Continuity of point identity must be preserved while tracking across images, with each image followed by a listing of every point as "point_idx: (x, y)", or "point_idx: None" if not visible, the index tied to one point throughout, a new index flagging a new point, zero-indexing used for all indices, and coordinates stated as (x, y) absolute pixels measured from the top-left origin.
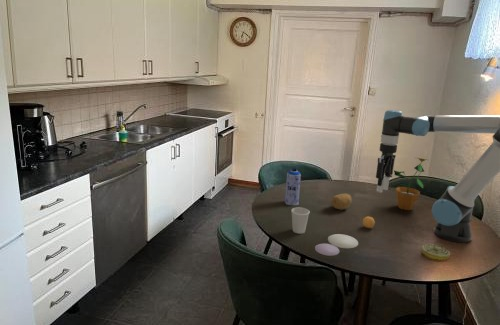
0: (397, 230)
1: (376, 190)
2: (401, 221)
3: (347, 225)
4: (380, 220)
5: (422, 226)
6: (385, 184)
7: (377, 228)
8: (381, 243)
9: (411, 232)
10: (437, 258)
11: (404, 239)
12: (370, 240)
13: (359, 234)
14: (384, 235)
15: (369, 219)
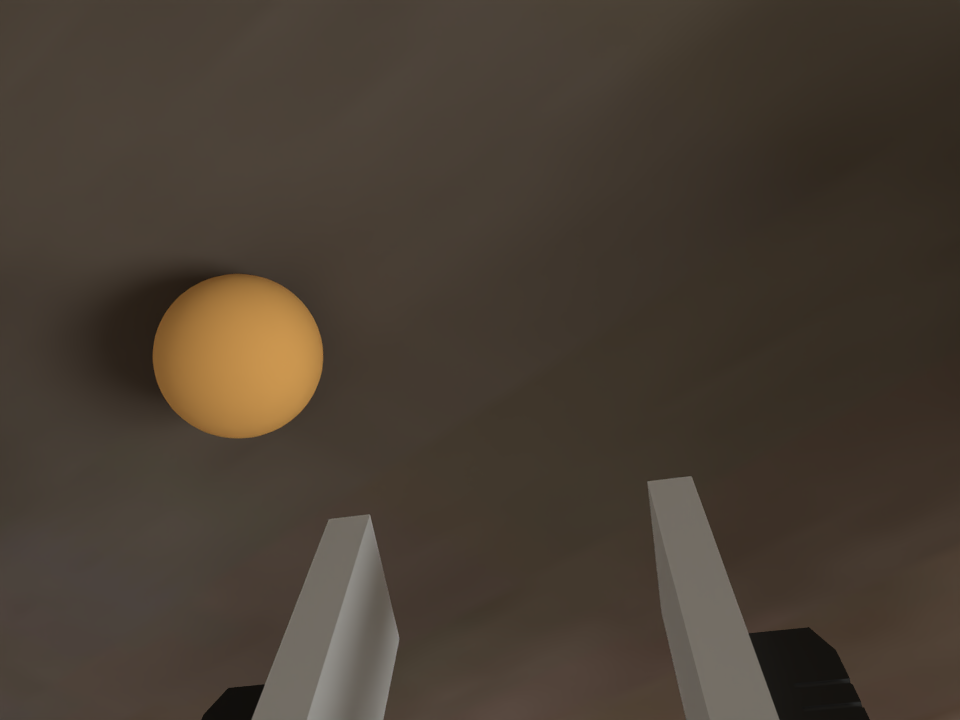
0: (531, 552)
1: (325, 530)
2: (842, 436)
3: (46, 139)
4: (619, 271)
5: (907, 638)
6: (678, 654)
7: (357, 404)
8: (97, 630)
9: (626, 653)
10: None
11: (396, 696)
12: (34, 541)
13: (17, 394)
14: (277, 549)
15: (182, 413)
